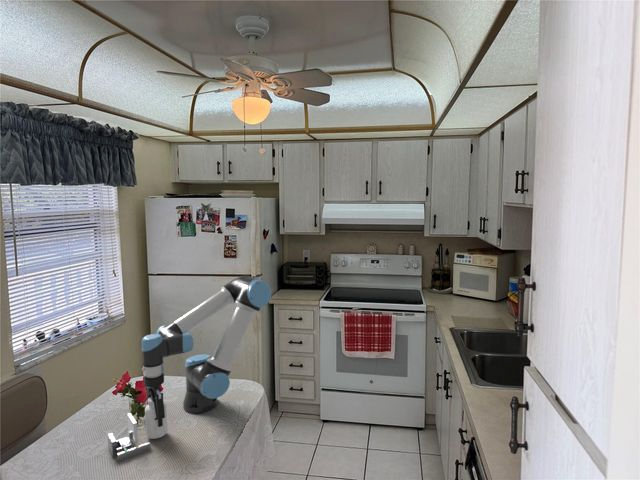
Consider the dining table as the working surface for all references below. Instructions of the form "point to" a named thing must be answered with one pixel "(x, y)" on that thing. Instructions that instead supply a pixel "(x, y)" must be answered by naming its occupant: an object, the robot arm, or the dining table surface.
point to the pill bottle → (153, 420)
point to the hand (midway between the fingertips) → (156, 428)
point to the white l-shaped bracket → (130, 433)
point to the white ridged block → (120, 452)
